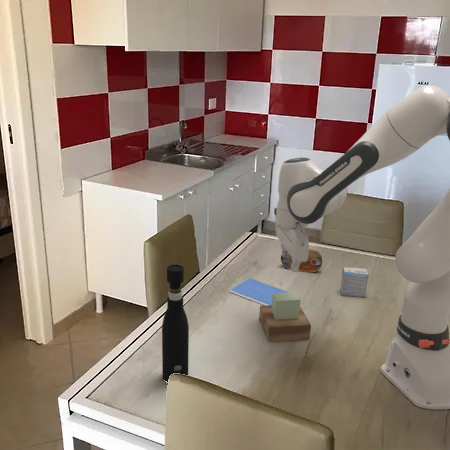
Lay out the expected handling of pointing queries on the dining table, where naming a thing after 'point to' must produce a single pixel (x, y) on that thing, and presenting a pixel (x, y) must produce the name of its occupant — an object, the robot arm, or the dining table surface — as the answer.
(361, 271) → the medicine box
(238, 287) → the blue rectangular panel
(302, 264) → the tin
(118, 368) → the dining table surface
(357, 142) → the robot arm
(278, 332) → the walnut brick
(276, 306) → the sage brick
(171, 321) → the black bottle
